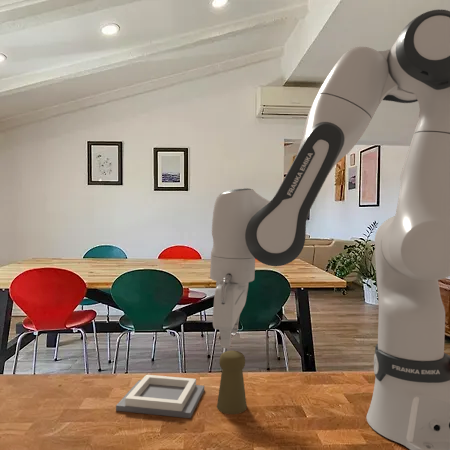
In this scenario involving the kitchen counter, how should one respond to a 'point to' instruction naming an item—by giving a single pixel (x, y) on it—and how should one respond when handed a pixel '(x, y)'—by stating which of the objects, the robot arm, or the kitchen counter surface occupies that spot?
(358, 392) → the kitchen counter surface
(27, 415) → the kitchen counter surface
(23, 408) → the kitchen counter surface
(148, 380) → the notch board
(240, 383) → the olive knobbed peg
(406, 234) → the robot arm
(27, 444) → the kitchen counter surface
